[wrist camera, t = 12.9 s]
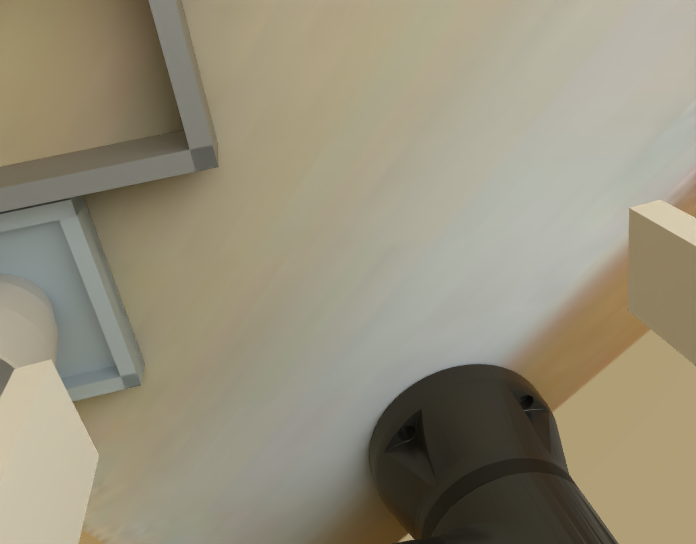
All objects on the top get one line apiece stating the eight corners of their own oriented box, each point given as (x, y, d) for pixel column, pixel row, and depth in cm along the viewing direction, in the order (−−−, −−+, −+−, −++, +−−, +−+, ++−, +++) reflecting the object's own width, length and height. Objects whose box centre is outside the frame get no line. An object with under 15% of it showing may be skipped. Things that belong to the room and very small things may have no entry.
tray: (144, 364, 44) (140, 385, 41) (-52, 410, 42) (-66, 434, 40) (79, 186, 38) (70, 199, 35) (-151, 233, 36) (-175, 250, 34)
